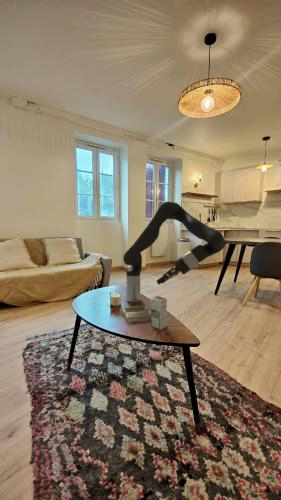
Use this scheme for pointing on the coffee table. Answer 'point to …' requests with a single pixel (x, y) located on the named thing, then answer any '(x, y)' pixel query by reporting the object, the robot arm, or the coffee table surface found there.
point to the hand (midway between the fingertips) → (159, 282)
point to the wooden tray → (136, 314)
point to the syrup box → (159, 312)
